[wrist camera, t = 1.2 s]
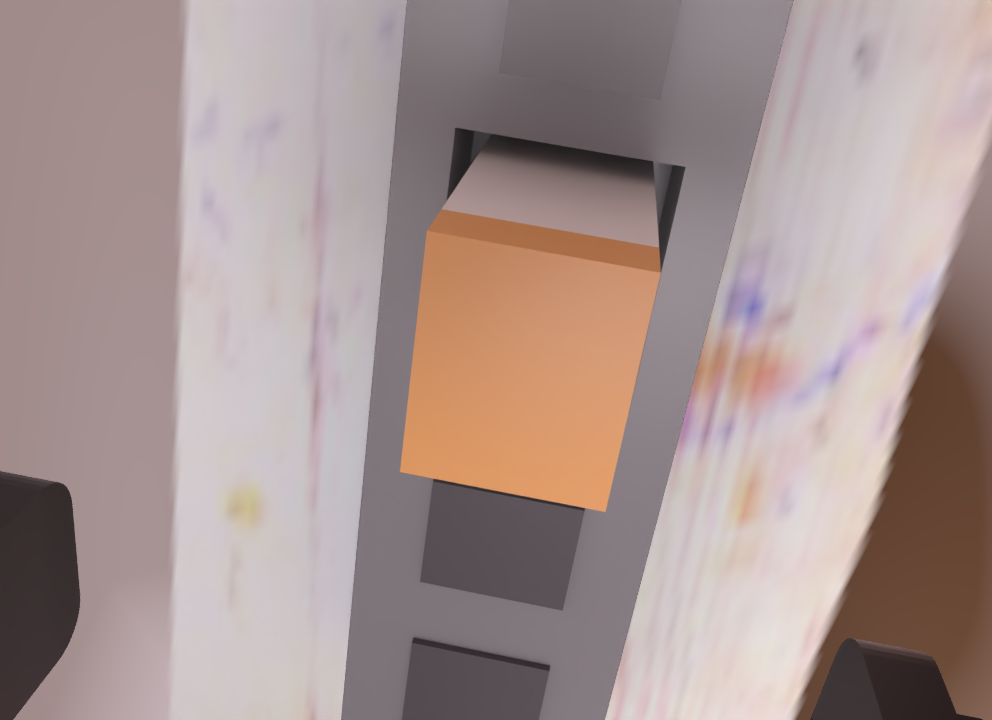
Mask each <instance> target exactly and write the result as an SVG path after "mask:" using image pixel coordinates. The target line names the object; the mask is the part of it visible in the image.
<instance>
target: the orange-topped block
mask: <svg viewBox="0 0 992 720" xmlns="http://www.w3.org/2000/svg"><path fill="white" fill-rule="evenodd" d="M660 274H661V267H660V252H659V238H658V223H657V209H656V195H655V180H654V166H653V161H648V160H642V159H636V158H630V157H624V156H618V155H613V154H607V153H601V152H595V151H589V150H583V149H578V148H572V147H566V146H560V145H554V144H548V143H543V142H537V141H531V140H525V139H519V138H513V137H508V136H502V135H496V134H492V135H491V136H490V138H489V139H488V141H487V142H486V144H485V145H484V147H483V148H482V150H481V151H480V152H479V154H478V155H477V157H476V158H475V160H474V161H473V163H472V164H471V166H470V167H469V169H468V170H467V172H466V173H465V175H464V176H463V178H462V179H461V181H460V182H459V184H458V185H457V187H456V188H455V190H454V191H453V193H452V194H451V196H450V197H449V199H448V200H447V202H446V203H445V205H444V206H443V208H442V209H441V211H440V212H439V214H438V215H437V217H436V218H435V220H434V221H433V222H432V224H431V225H430V227H429V228H428V230H427V234H426V243H425V252H424V261H423V270H422V279H421V288H420V297H419V305H418V314H417V323H416V332H415V341H414V350H413V359H412V368H411V377H410V386H409V395H408V404H407V413H406V422H405V431H404V440H403V449H402V458H401V467H400V472H402V473H408V474H413V475H418V476H423V477H428V478H433V479H438V480H444V481H449V482H454V483H459V484H464V485H469V486H474V487H479V488H485V489H490V490H495V491H500V492H505V493H510V494H515V495H520V496H526V497H531V498H536V499H541V500H546V501H551V502H556V503H562V504H567V505H572V506H577V507H582V508H587V509H592V510H597V511H603V512H606V508H607V503H608V499H609V495H610V490H611V486H612V482H613V477H614V473H615V469H616V464H617V460H618V456H619V451H620V447H621V443H622V438H623V434H624V430H625V426H626V421H627V417H628V413H629V408H630V404H631V400H632V395H633V391H634V387H635V382H636V378H637V374H638V369H639V365H640V361H641V356H642V352H643V348H644V343H645V339H646V335H647V331H648V326H649V322H650V318H651V313H652V309H653V305H654V300H655V296H656V292H657V287H658V283H659V279H660Z"/></svg>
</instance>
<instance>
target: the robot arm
mask: <svg viewBox="0 0 992 720" xmlns="http://www.w3.org/2000/svg"><path fill="white" fill-rule="evenodd" d="M79 606H80V589H79V579H78V566H77V554H76V543H75V531H74V520H73V508H72V500H71V496H70V492H69V490H68V489H67V487H66V486H65V485H64V484H61V483H58V482H53V481H48V480H43V479H38V478H32V477H27V476H22V475H17V474H11V473H6V472H1V471H0V720H13V719H14V718H15V717H16V715H17V714H18V713H19V711H20V710H21V709H22V707H23V706H24V705H25V704H26V702H27V701H28V700H29V698H30V697H31V695H32V694H33V693H34V692H35V690H36V689H37V688H38V686H39V685H40V684H41V683H42V681H43V680H44V679H45V677H46V676H47V675H48V674H49V672H50V671H51V669H52V668H53V667H54V666H55V664H56V663H57V662H58V660H59V659H60V658H61V656H62V655H63V653H64V651H65V649H66V648H67V646H68V644H69V642H70V639H71V637H72V634H73V632H74V629H75V626H76V622H77V618H78V614H79V608H80V607H79ZM810 720H982V719H980V718H974V717H969V716H964V715H959V714H957V713H956V711H955V709H954V706H953V703H952V701H951V698H950V696H949V694H948V691H947V689H946V686H945V683H944V681H943V678H942V676H941V673H940V671H939V669H938V666H937V664H936V662H935V660H934V659H933V658H932V657H931V656H930V655H929V654H928V653H925V652H920V651H915V650H910V649H905V648H899V647H895V646H890V645H884V644H879V643H874V642H869V641H863V640H858V639H853V638H848V639H846V640H845V641H844V642H843V643H842V644H841V646H840V647H839V649H838V652H837V654H836V656H835V658H834V661H833V663H832V666H831V669H830V671H829V674H828V676H827V679H826V682H825V684H824V686H823V689H822V691H821V694H820V697H819V699H818V702H817V704H816V707H815V709H814V712H813V714H812V717H811V719H810Z"/></svg>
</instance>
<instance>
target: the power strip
mask: <svg viewBox="0 0 992 720" xmlns="http://www.w3.org/2000/svg"><path fill="white" fill-rule="evenodd" d="M792 4H793V0H407V7H406V18H405V28H404V39H403V50H402V61H401V72H400V83H399V94H398V105H397V116H396V127H395V138H394V149H393V160H392V171H391V181H390V192H389V203H388V214H387V225H386V236H385V247H384V258H383V269H382V280H381V291H380V302H379V313H378V323H377V334H376V345H375V356H374V367H373V378H372V389H371V400H370V411H369V422H368V433H367V444H366V455H365V466H364V476H363V487H362V498H361V509H360V520H359V531H358V542H357V553H356V564H355V575H354V586H353V597H352V608H351V618H350V629H349V640H348V651H347V662H346V673H345V684H344V695H343V706H342V717H341V720H605V717H606V713H607V709H608V706H609V702H610V698H611V694H612V690H613V687H614V683H615V679H616V675H617V671H618V667H619V664H620V660H621V656H622V652H623V648H624V645H625V641H626V637H627V633H628V629H629V626H630V622H631V618H632V614H633V610H634V606H635V603H636V599H637V595H638V591H639V587H640V584H641V580H642V576H643V572H644V568H645V565H646V561H647V557H648V553H649V549H650V546H651V542H652V538H653V534H654V530H655V526H656V523H657V519H658V515H659V511H660V507H661V504H662V500H663V496H664V492H665V488H666V485H667V481H668V477H669V473H670V469H671V465H672V462H673V458H674V454H675V450H676V446H677V443H678V439H679V435H680V431H681V427H682V424H683V420H684V416H685V412H686V408H687V404H688V401H689V397H690V393H691V389H692V385H693V382H694V378H695V374H696V370H697V366H698V363H699V359H700V355H701V351H702V347H703V344H704V340H705V336H706V332H707V328H708V324H709V321H710V317H711V313H712V309H713V305H714V302H715V298H716V294H717V290H718V286H719V283H720V279H721V275H722V271H723V267H724V263H725V260H726V256H727V252H728V248H729V244H730V241H731V237H732V233H733V229H734V225H735V222H736V218H737V214H738V210H739V206H740V202H741V199H742V195H743V191H744V187H745V183H746V180H747V176H748V172H749V168H750V164H751V161H752V157H753V153H754V149H755V145H756V142H757V138H758V134H759V130H760V126H761V122H762V119H763V115H764V111H765V107H766V103H767V100H768V96H769V92H770V88H771V84H772V81H773V77H774V73H775V69H776V65H777V61H778V58H779V54H780V50H781V46H782V42H783V39H784V35H785V31H786V27H787V23H788V20H789V16H790V12H791V8H792ZM492 134H496V135H502V136H508V137H513V138H519V139H525V140H531V141H537V142H543V143H548V144H554V145H560V146H566V147H572V148H578V149H583V150H589V151H595V152H601V153H607V154H613V155H618V156H624V157H630V158H636V159H642V160H648V161H653V166H654V180H655V195H656V209H657V223H658V238H659V252H660V267H661V274H660V279H659V283H658V287H657V292H656V296H655V300H654V305H653V309H652V313H651V318H650V322H649V326H648V331H647V335H646V339H645V343H644V348H643V352H642V356H641V361H640V365H639V369H638V374H637V378H636V382H635V387H634V391H633V395H632V400H631V404H630V408H629V413H628V417H627V421H626V426H625V430H624V434H623V438H622V443H621V447H620V451H619V456H618V460H617V464H616V469H615V473H614V477H613V482H612V486H611V490H610V495H609V499H608V503H607V508H606V512H603V511H597V510H592V509H587V508H582V507H577V506H572V505H567V504H562V503H556V502H551V501H546V500H541V499H536V498H531V497H526V496H520V495H515V494H510V493H505V492H500V491H495V490H490V489H485V488H479V487H474V486H469V485H464V484H459V483H454V482H449V481H444V480H438V479H433V478H428V477H423V476H418V475H413V474H408V473H402V472H400V467H401V458H402V449H403V440H404V431H405V422H406V413H407V404H408V395H409V386H410V377H411V368H412V359H413V350H414V341H415V332H416V323H417V314H418V305H419V297H420V288H421V279H422V270H423V261H424V252H425V243H426V234H427V230H428V228H429V227H430V225H431V224H432V222H433V221H434V220H435V218H436V217H437V215H438V214H439V212H440V211H441V209H442V208H443V206H444V205H445V203H446V202H447V200H448V199H449V197H450V196H451V194H452V193H453V191H454V190H455V188H456V187H457V185H458V184H459V182H460V181H461V179H462V178H463V176H464V175H465V173H466V172H467V170H468V169H469V167H470V166H471V164H472V163H473V161H474V160H475V158H476V157H477V155H478V154H479V152H480V151H481V150H482V148H483V147H484V145H485V144H486V142H487V141H488V139H489V138H490V136H491V135H492Z"/></svg>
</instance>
